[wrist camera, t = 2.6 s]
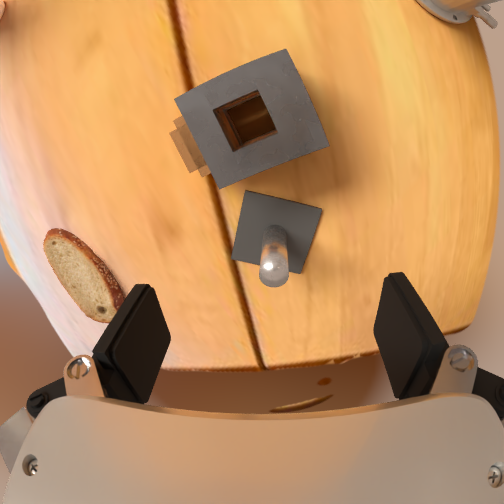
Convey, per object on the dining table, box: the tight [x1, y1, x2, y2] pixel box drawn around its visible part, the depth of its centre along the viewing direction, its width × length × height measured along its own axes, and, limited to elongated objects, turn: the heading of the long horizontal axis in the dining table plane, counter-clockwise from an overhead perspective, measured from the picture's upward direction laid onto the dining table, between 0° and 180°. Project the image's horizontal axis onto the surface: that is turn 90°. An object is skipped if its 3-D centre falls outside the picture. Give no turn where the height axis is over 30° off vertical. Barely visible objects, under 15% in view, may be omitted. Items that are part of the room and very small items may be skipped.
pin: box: [259, 225, 289, 287], centre depth 32 cm, size 3×3×10 cm
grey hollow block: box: [170, 49, 330, 189], centre depth 26 cm, size 14×10×8 cm
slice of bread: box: [43, 228, 124, 323], centre depth 42 cm, size 18×18×4 cm
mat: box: [231, 190, 322, 274], centre depth 36 cm, size 10×10×1 cm
